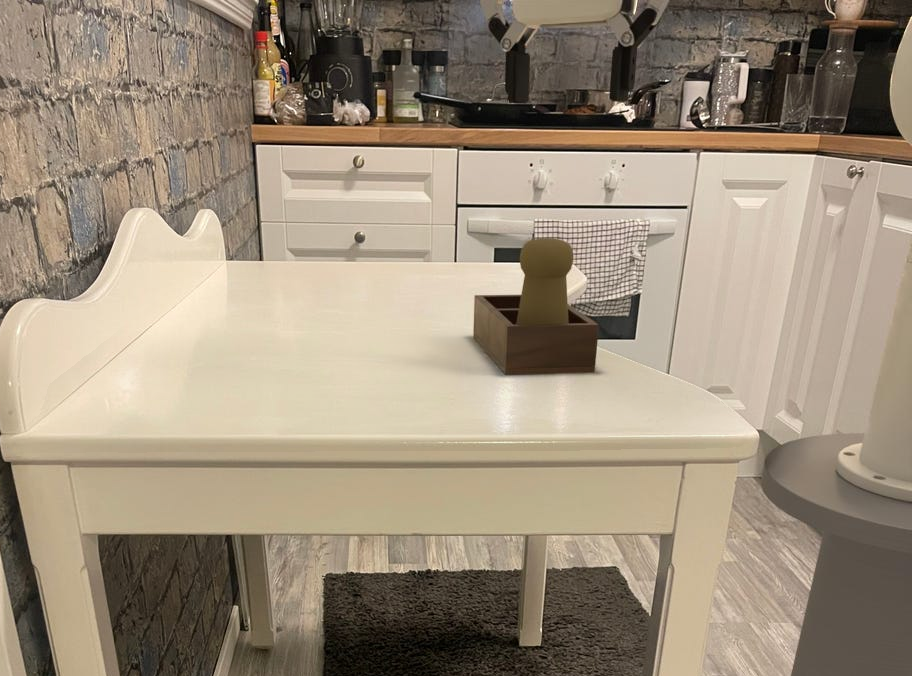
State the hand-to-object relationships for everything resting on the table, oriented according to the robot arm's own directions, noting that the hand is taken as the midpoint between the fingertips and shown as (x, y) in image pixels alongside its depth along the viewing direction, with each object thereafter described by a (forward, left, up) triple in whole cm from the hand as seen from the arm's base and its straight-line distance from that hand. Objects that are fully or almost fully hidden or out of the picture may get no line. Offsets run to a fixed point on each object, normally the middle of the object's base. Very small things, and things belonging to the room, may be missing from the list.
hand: (567, 102), depth 85 cm
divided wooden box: (+4, -4, -23) cm, 24 cm away
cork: (+1, 0, -23) cm, 23 cm away
